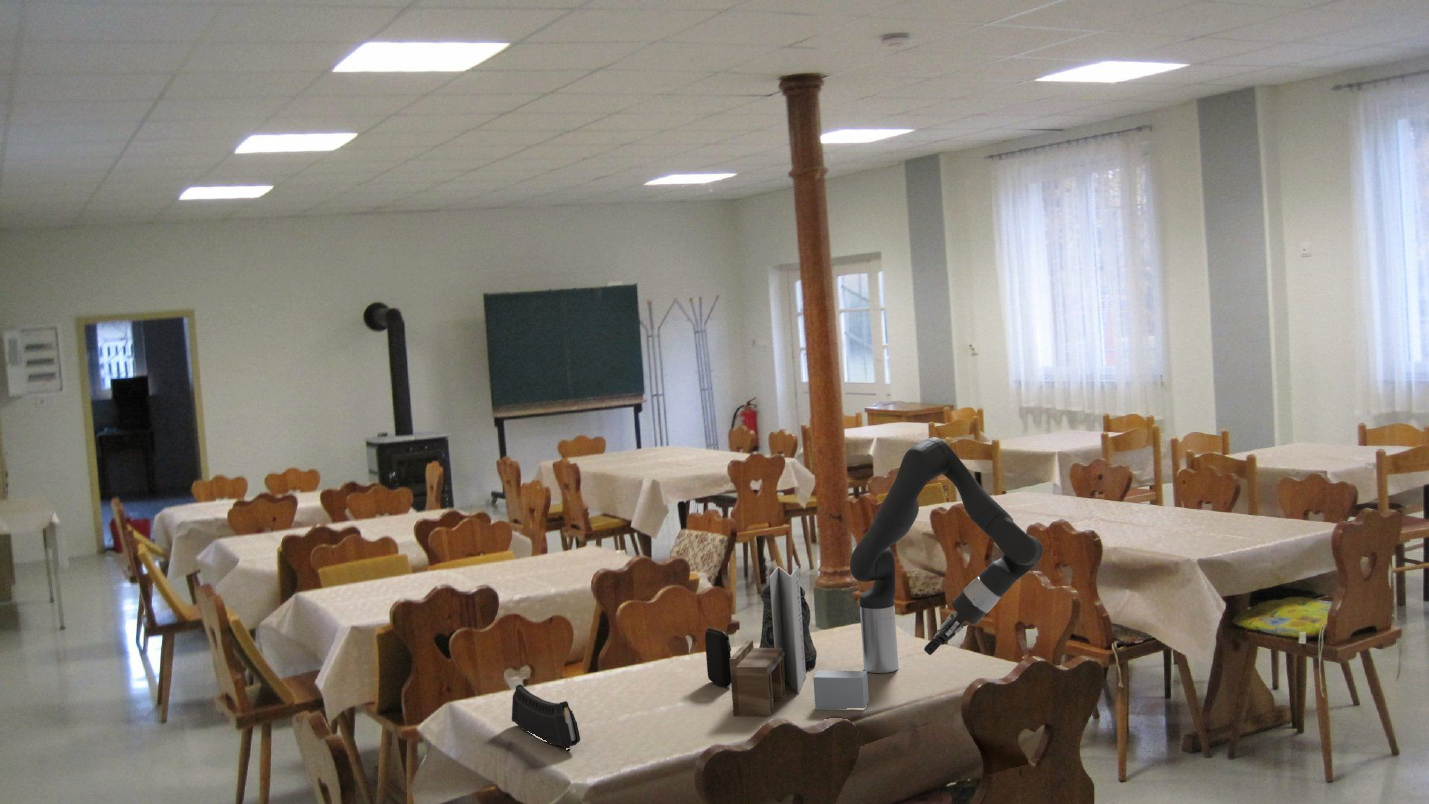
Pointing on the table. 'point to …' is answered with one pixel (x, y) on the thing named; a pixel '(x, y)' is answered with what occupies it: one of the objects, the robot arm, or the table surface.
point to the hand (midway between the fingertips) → (927, 651)
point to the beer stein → (809, 648)
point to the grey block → (840, 690)
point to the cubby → (756, 680)
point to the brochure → (788, 624)
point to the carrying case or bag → (718, 657)
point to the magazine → (545, 718)
